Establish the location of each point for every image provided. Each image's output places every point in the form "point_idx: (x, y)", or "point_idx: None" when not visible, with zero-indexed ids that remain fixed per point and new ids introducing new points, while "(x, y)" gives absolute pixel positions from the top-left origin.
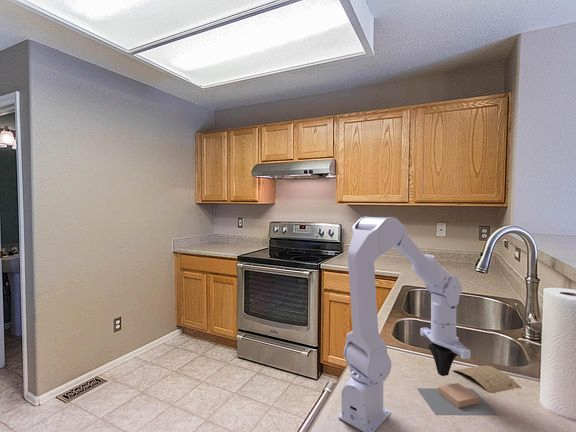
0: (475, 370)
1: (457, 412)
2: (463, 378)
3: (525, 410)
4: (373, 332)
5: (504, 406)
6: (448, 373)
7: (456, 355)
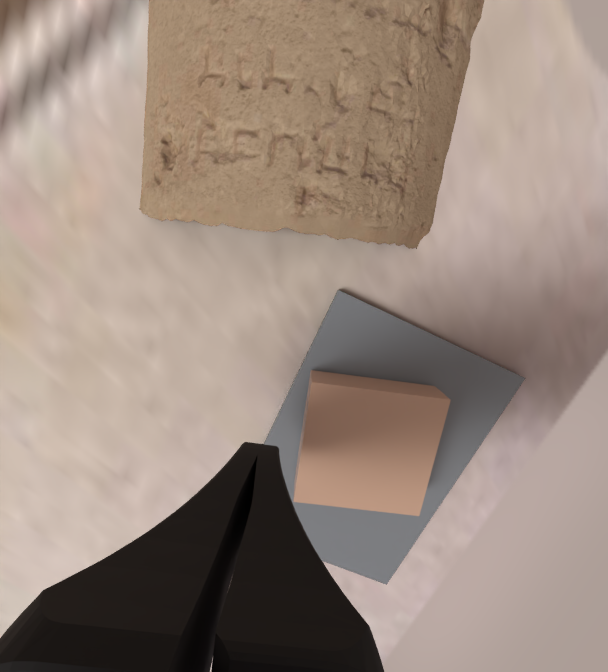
0: (249, 113)
1: (420, 512)
2: None
3: (571, 211)
4: None
5: (497, 277)
6: (278, 453)
7: (341, 595)
